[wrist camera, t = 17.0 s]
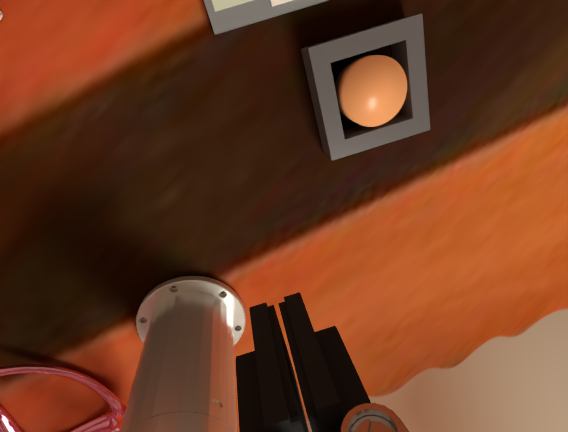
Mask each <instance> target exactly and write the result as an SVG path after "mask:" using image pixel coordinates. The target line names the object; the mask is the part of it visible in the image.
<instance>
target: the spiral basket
mask: <svg viewBox="0 0 568 432" xmlns="http://www.w3.org/2000/svg"><path fill="white" fill-rule="evenodd" d="M19 373H43V374H51V375H57V376H61V377H65V378H68V379H71V380H74V381H76V382H79V383H81V384H83V385H85V386H87V387H88V388H90V389H91V390H93V391H94V392H96V393H97V394H98V395H99V396H101V397H102V398H103V399H104V400H105V401H106V402H107V404H108V405H109V406H110V408H111V411H110V412H108V413H105V414H103V415H101V416H99V417H97V418H94V419H92V420H90V421H88V422H86V423H84V424H82V425H80V426H78V427H77V428H75V429H73V430H71V431H69V432H119V431H120V427H121V424H122V420H123V417H124V413H125V409H126V405H124V404H123V403H122V402H121V401H120V400H119V399H118V398H117V397H116V396H115V395H114V394H113V393H112V392H111V391H110V390H109V389H108V388H107V387H105V386H104V385H103V384H101V383H100V382H98V381H97V380H95V379H93V378H91V377H89V376H87V375H85V374H83V373H80V372H78V371H75V370H72V369H68V368H64V367H59V366H53V365H42V364H23V365H11V366H4V367H0V376H3V375H10V374H19ZM0 432H21V430H20V429H19V427H18V426H17V424H16V423H15V421H14V420H13V419H12V418H11V416H10V415H9V414H8V413H7V412H6V411H5V410H4V409H3V408H2V407H1V406H0Z"/></svg>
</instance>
